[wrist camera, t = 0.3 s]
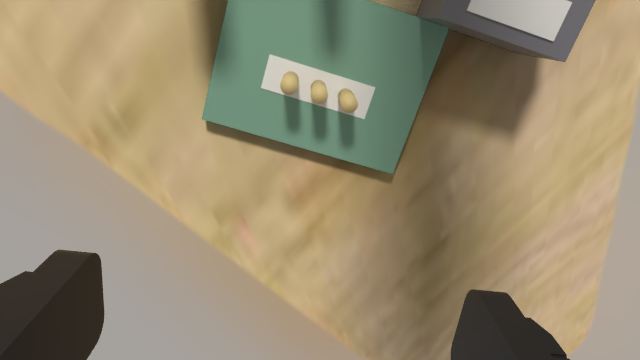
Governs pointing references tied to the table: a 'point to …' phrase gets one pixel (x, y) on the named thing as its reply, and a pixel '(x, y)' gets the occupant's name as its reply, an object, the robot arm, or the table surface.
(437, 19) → the block
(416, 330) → the table surface
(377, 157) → the board
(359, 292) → the table surface
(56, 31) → the table surface
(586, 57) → the table surface
